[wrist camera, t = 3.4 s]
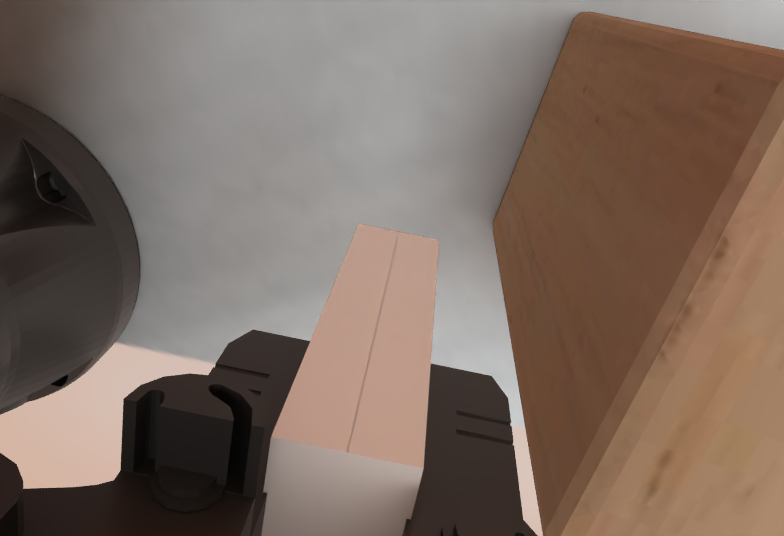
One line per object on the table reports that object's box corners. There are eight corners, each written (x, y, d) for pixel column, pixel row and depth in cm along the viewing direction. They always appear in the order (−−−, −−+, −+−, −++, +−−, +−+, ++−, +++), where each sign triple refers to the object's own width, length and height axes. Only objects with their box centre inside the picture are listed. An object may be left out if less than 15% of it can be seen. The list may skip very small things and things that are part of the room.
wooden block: (807, 86, 29) (1458, 274, 10) (693, 297, 32) (1014, 715, 14) (576, 7, 28) (813, 51, 10) (488, 230, 32) (538, 569, 13)
